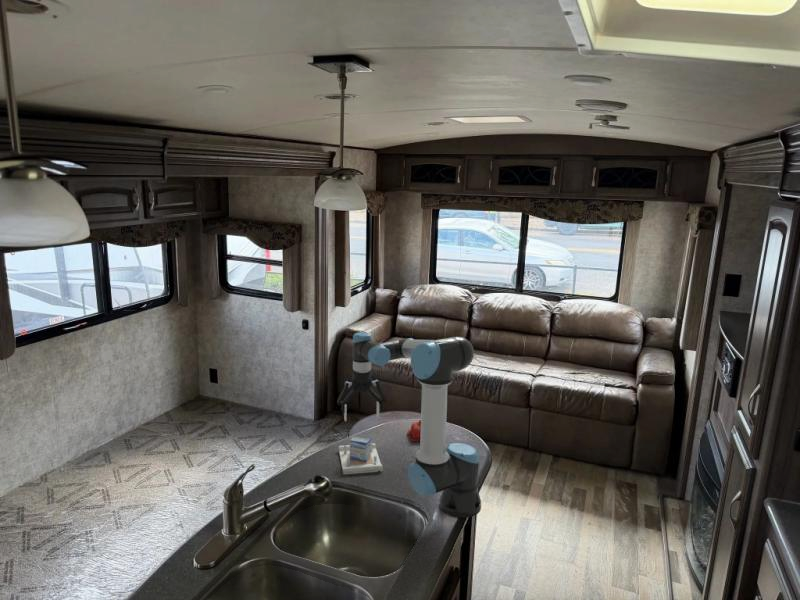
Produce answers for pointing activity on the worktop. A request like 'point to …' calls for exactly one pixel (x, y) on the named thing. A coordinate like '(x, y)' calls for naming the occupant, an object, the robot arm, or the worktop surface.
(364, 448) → the medicine box
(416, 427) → the butter dish
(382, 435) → the worktop surface
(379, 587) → the worktop surface
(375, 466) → the pin tray
